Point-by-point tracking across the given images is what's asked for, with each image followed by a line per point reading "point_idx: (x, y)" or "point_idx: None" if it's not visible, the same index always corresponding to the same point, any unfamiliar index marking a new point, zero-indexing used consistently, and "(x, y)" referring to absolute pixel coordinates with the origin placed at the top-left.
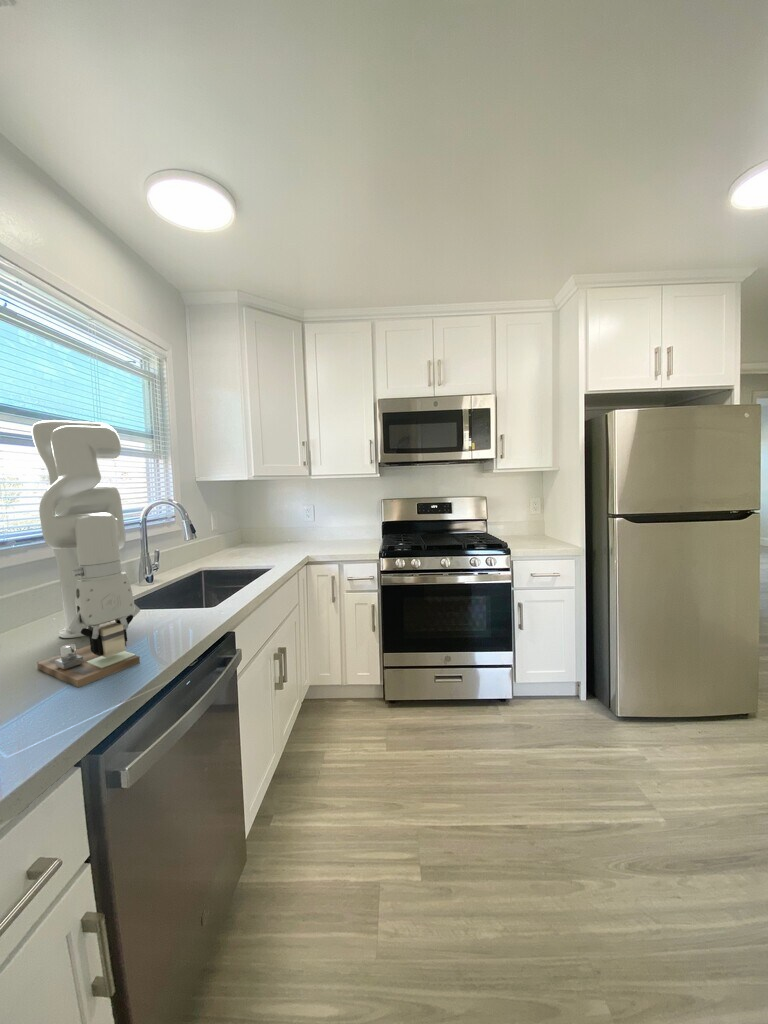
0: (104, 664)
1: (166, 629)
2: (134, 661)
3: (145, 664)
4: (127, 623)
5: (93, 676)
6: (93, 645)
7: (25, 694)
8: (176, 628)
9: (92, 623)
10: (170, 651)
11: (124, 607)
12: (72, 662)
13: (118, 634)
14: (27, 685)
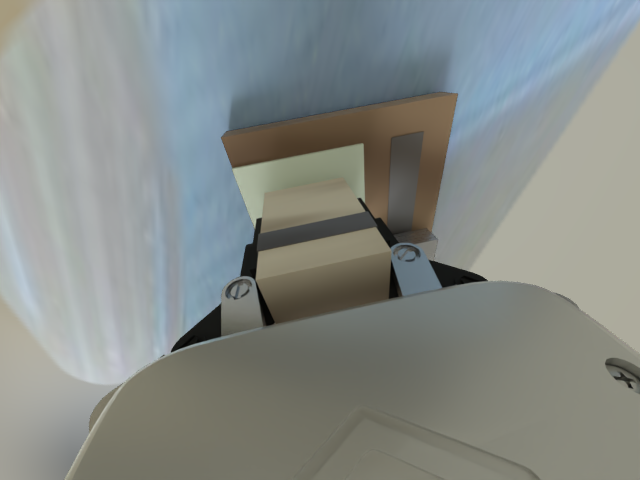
0: (345, 166)
1: (129, 349)
2: (245, 129)
3: (208, 96)
4: (222, 305)
5: (400, 102)
6: (391, 233)
7: (493, 196)
8: (95, 341)
9: (523, 291)
10: (94, 154)
11: (189, 464)
12: (410, 240)
13: (291, 232)
14: (458, 246)
